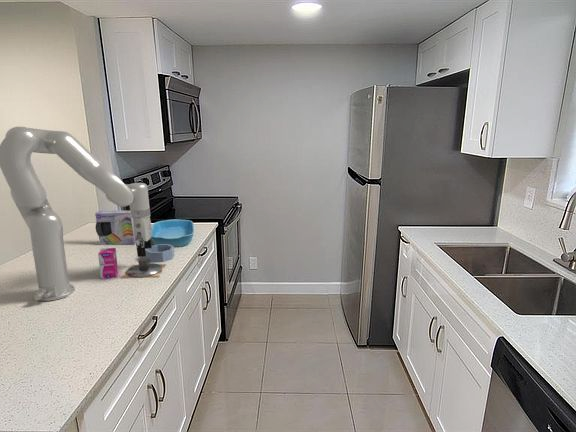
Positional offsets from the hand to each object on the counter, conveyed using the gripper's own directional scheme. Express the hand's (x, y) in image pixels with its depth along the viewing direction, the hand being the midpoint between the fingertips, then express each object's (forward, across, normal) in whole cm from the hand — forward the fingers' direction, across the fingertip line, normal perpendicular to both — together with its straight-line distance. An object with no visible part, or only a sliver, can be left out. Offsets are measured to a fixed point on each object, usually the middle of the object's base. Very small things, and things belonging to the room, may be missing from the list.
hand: (145, 252), depth 155 cm
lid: (+8, -1, +1) cm, 8 cm away
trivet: (+9, -1, +1) cm, 9 cm away
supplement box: (+8, -5, +14) cm, 17 cm away
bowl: (+9, +15, -2) cm, 18 cm away
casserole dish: (+10, +45, -2) cm, 47 cm away
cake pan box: (+9, +39, +25) cm, 47 cm away
